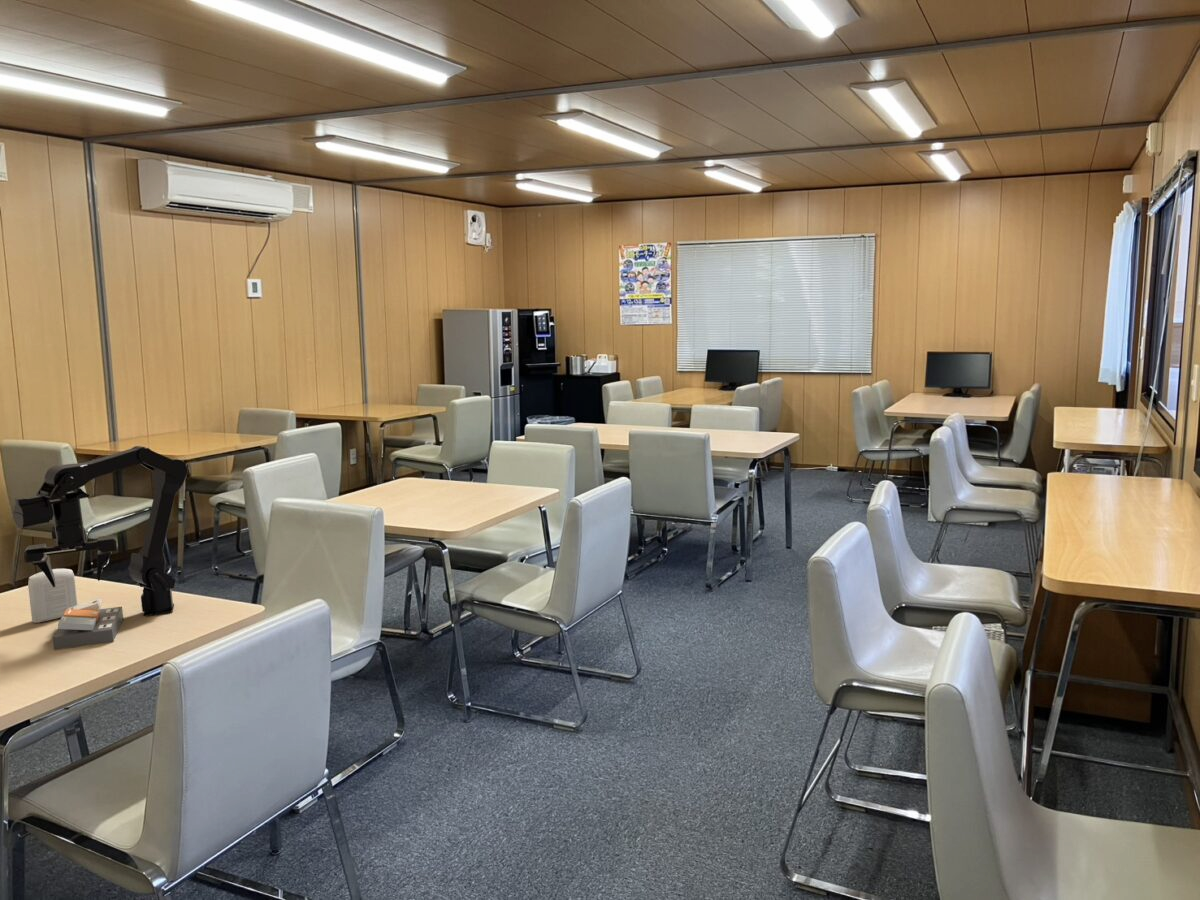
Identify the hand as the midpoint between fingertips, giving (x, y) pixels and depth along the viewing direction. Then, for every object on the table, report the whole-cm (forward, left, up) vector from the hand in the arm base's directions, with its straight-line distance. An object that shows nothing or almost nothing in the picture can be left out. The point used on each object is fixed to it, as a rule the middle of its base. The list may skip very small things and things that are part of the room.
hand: (76, 583), depth 213 cm
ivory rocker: (0, -4, -8) cm, 9 cm away
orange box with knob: (0, +2, -8) cm, 8 cm away
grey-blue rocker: (0, +8, -8) cm, 11 cm away
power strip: (-2, +2, -12) cm, 12 cm away
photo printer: (+8, -15, -12) cm, 21 cm away
